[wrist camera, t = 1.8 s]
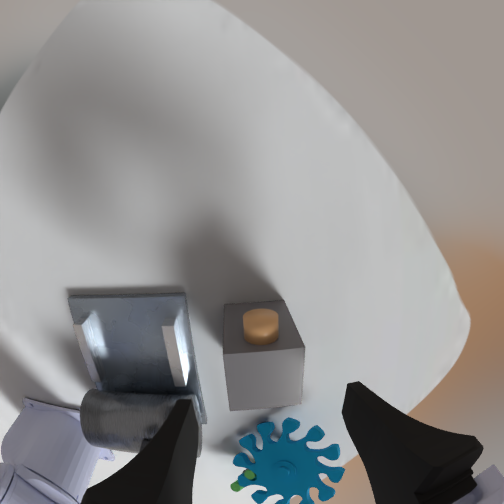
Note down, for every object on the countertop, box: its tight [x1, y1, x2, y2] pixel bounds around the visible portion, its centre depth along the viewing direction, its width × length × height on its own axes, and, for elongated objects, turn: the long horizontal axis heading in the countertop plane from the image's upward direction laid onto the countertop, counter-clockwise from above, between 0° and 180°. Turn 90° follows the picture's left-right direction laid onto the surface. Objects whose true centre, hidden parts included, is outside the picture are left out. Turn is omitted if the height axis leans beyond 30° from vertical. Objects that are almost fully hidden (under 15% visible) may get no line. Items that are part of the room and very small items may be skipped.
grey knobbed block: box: [223, 300, 305, 411], centre depth 16 cm, size 4×5×6 cm
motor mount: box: [68, 293, 207, 457], centre depth 16 cm, size 9×12×7 cm
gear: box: [231, 418, 345, 504], centre depth 21 cm, size 11×6×10 cm
